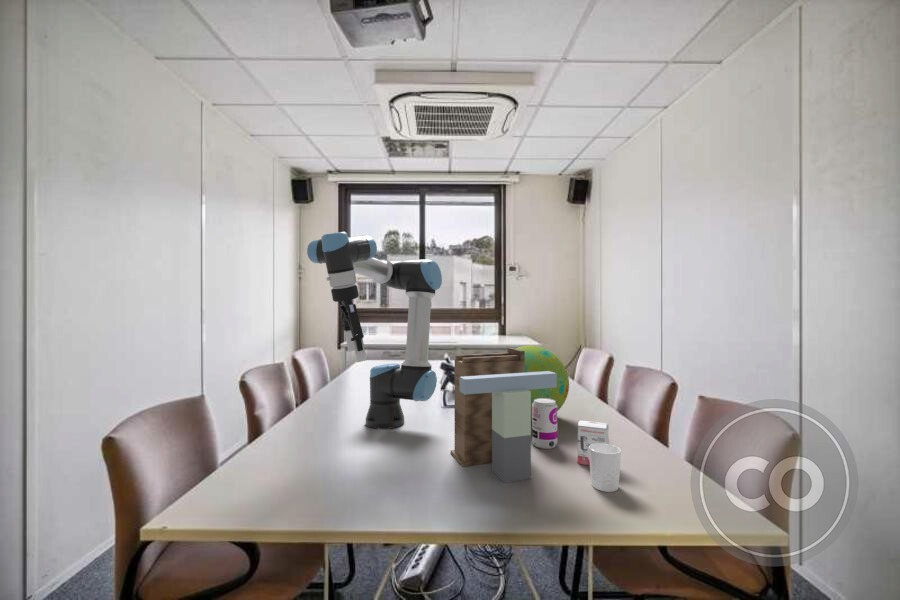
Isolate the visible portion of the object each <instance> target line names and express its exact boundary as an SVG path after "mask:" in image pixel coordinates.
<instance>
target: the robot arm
mask: <svg viewBox="0 0 900 600" xmlns="http://www.w3.org/2000/svg"><path fill="white" fill-rule="evenodd" d="M306 251H307V252H306V254H307V257H308V259H309V260H310V261H311V262H312V263H314V264H325V266H326V270H327V271H326V272H327V276H328V277H326V281H329V286H330V288H331V289H330V293H331V297H332V301H333V302H335V303H338V304H339V310H340V316H341V324H342V325H341V327H342V328H343V332H344V336H345V337H344V338H345V341H346V346H347V352H349V353H351V352H353V351H354V354H355V360H356V362H357V363H361V362H365V361H367V359H368V358H367V353H366V349H365V343H364V340H363V338H364V337H365V336H364V333H363V330H362V325H361V321H360V317H359V314H358V310H357V305H356V303H353V302H354V301H353V300H356V299H357V298H358V297H359V296H360V294H359V293H360V292H359V289H358V285H357V278H356V277H357V276H356V274H357V275H360V276H363V277H365V278H366V277H367V278H369V279H372V280H373V281H374V282H375V283H377V284H379V285H383V286H386V287H387V288H388V287H389V288H392V289H395V290H402V291H405V295H406V296H407V297H408V312H407V313H408V314H407V327H406V329H407V330H406V344H405V345H406V346H405V358H404V361H403V362H401V364H400V363H395V362H394V363H387V364H386V363H385V364H380V365H379V364H378V365H376V366H372V367H371V369H370V372H369V407H368V410H367V413H366V417H365V425H366V427H369V428H372V429H378V430H381V429H393V428H399V427H401V426H402V425H404V423H405V415H404V411H403V409H402V405H401V400H407V401H408V400H409V401H414V402H426V401H429V400H430V399H431V397H432V396H433V395H434V393H435V391H436V387H437V383H438V378H437V373H436V372H435V371H434V370H432V364H431V363H430V362H429V346H430V345H429V344H430V327H431V324H430V323H431V307H432V299H433V298H434V297H435V296H436V291H437V290H439V289H440V288H441V286H442V284H443V283H442V281H443V276H442V271H441V268H440V266H439V264H438V263H437V262H436V261H435V260H433V259H424V258H423V259H412V260H388V259H379V258H375V256H376V254H377V251H378V247H377V242H376V241H375V239H374V238H373V237H371V236H369V235H359V236H353V237H351V236H349V235H348V233H347V232H346V231H339V232H332V233H331V232H330V233H325V234H323V235H322V236H321V239H315V240H312V241H310V242H309V243H308V245H307V249H306Z"/></svg>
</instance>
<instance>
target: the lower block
mask: <svg viewBox="0 0 900 600" xmlns="http://www.w3.org/2000/svg"><path fill="white" fill-rule="evenodd" d="M531 453H532V434H531V435H527V436H518V437H510V438H503V437H502V436H501V435H499V434H498V433H497V432H495V431H494V430H492V463H491V471H493V472H492V473H494V475H495V476H497V477H498V479H500V480H501V481H502V483H504V484H505V483H506V482H507V483H512V482H518V481H526V480H531V479H532V454H531Z"/></svg>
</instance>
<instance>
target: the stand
mask: <svg viewBox="0 0 900 600" xmlns="http://www.w3.org/2000/svg"><path fill="white" fill-rule="evenodd" d="M506 350H507V352H497V353H496V352H494V353H493V352H492V353H491V352H490V353H476V354H475V353H473V354H455V355H454V357H455V359H454V449H451V450H450V454H451V455H452V457H453V458H454V459H455V460H456V461H457V462H458V464H459V465H460V464H461V467H470V466H479V465H486V464H490V463H491V464H492V392H491V393H479V394H466V395H464V394H463V393H461V392H460V385H459V377H463V376H479V375H495V374H510V373H525V351H523V350H519V349H516V348H515V347H507V349H506ZM478 464H479V465H478ZM469 465H470V466H469Z"/></svg>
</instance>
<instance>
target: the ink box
mask: <svg viewBox="0 0 900 600" xmlns="http://www.w3.org/2000/svg"><path fill="white" fill-rule="evenodd" d="M595 443H604V444H609V424H608V423H607V422H599V421H597V422H596V421H589V420H578V422H577V464H578V465H585V466H590V458H589V446H590V445H591V444H595Z"/></svg>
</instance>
